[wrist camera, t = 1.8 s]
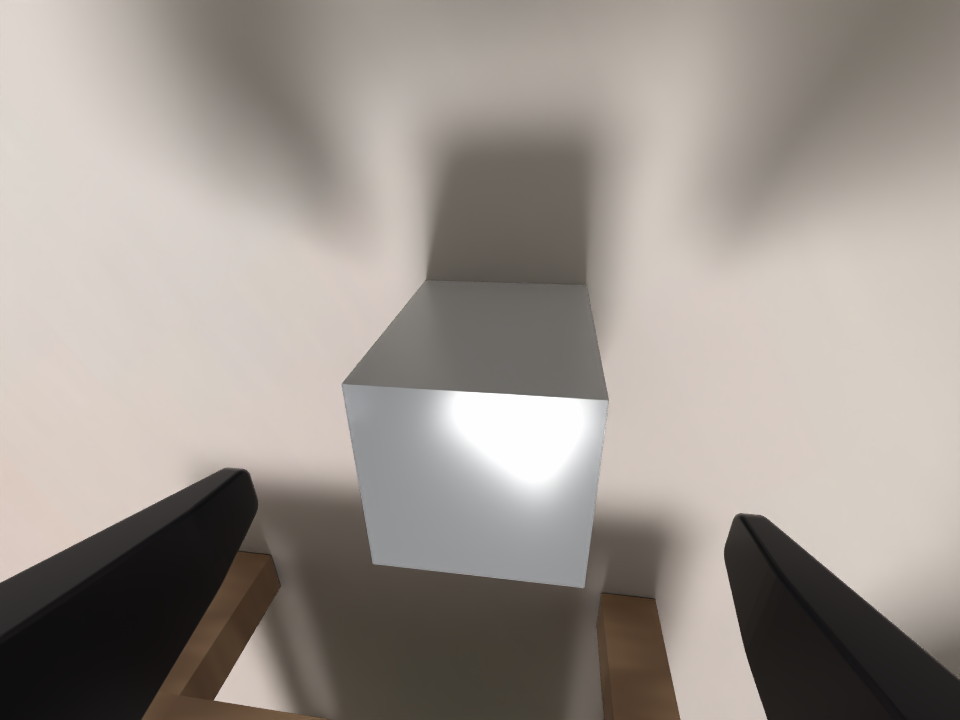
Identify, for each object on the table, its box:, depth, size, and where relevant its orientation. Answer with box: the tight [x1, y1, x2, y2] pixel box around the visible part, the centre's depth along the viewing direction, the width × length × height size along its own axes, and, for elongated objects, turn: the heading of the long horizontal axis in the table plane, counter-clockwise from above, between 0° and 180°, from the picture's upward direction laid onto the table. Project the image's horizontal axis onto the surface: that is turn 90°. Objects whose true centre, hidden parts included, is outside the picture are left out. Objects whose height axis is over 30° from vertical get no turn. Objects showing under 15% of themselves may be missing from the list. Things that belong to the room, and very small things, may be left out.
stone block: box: [342, 280, 609, 588], centre depth 11 cm, size 4×4×6 cm
